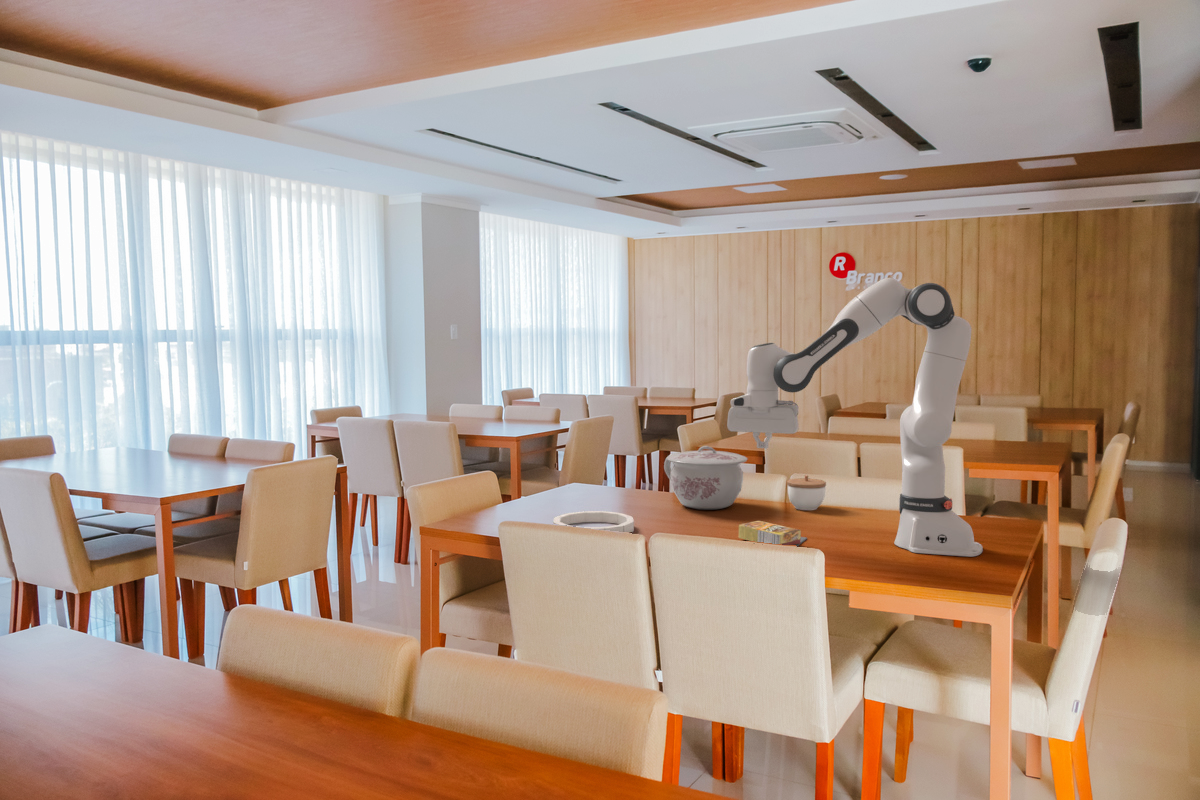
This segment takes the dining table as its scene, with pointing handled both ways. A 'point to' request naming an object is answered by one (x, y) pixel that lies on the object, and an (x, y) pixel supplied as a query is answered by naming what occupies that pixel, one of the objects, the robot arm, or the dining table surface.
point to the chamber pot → (705, 477)
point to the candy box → (769, 533)
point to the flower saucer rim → (598, 520)
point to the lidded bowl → (806, 492)
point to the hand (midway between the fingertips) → (762, 448)
